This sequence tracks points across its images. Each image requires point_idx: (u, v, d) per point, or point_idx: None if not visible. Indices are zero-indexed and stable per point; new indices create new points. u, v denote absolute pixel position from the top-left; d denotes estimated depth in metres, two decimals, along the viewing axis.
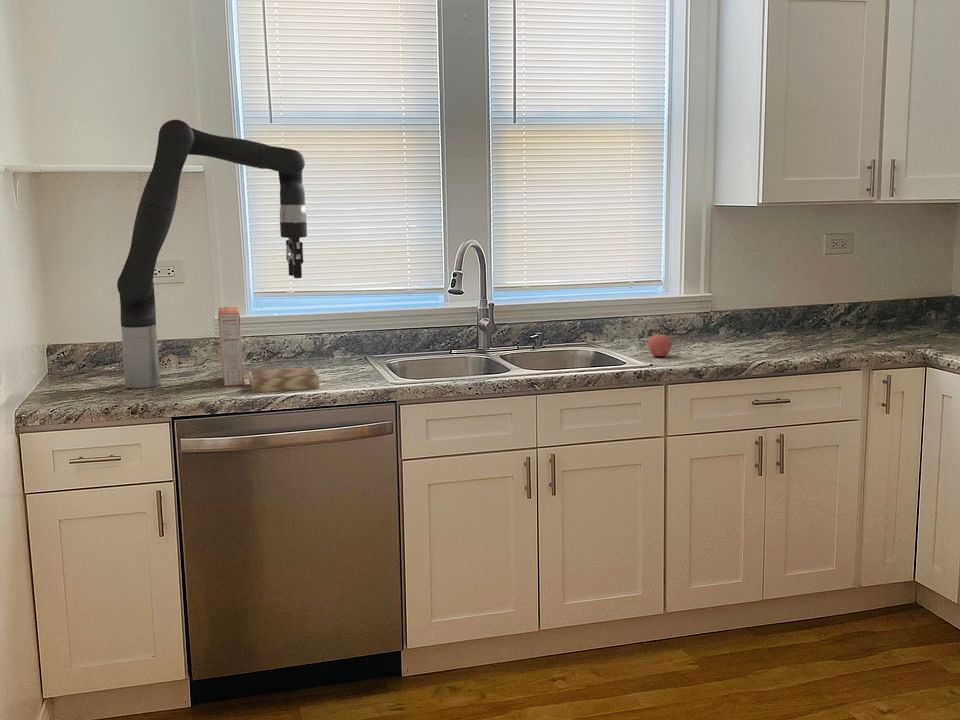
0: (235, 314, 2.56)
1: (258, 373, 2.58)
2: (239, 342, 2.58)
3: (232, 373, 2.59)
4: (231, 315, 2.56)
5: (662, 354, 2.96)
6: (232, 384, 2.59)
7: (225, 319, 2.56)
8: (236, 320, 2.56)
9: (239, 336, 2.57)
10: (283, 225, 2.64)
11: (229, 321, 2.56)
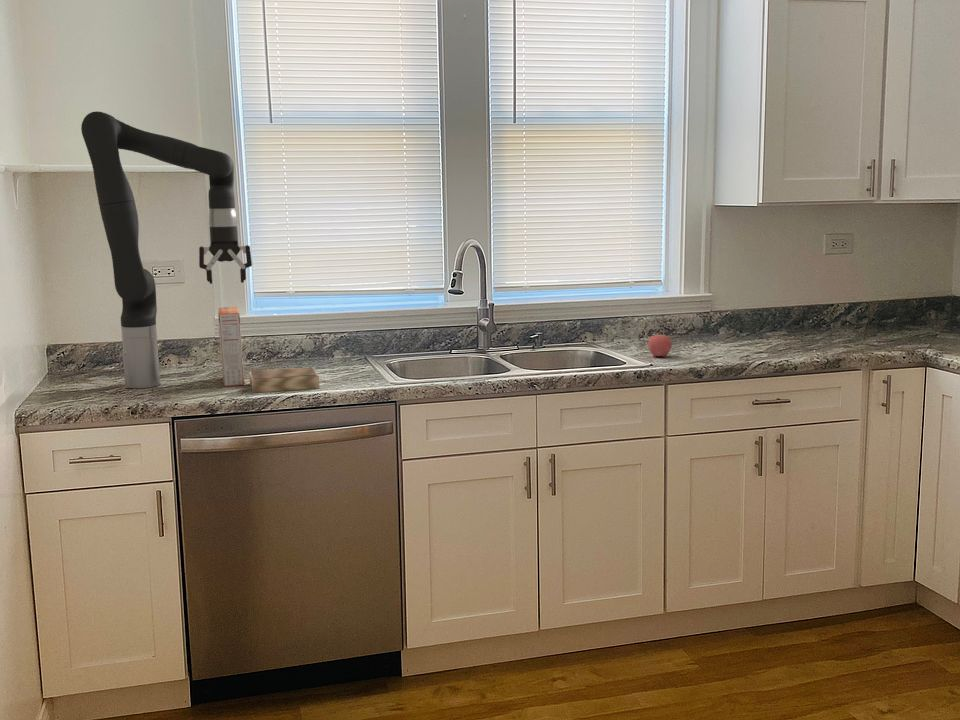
0: (235, 314, 2.56)
1: (258, 373, 2.58)
2: (239, 342, 2.58)
3: (232, 373, 2.59)
4: (231, 315, 2.56)
5: (662, 354, 2.96)
6: (232, 384, 2.59)
7: (225, 319, 2.56)
8: (236, 320, 2.56)
9: (239, 336, 2.57)
10: (231, 229, 2.56)
11: (229, 321, 2.56)
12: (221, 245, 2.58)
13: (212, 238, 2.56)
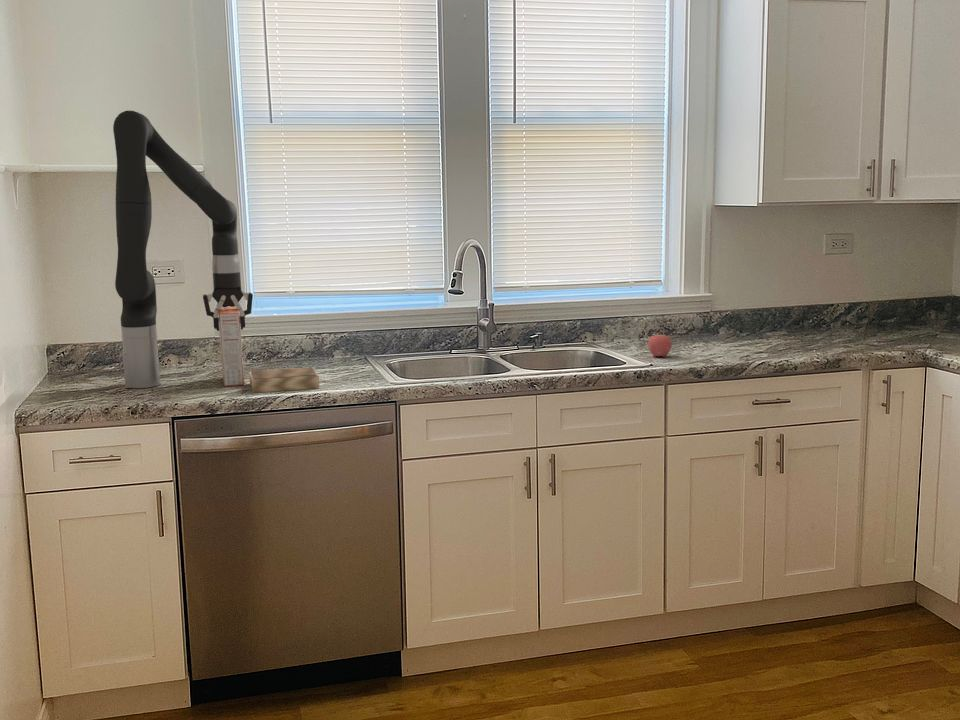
0: (235, 314, 2.56)
1: (258, 373, 2.58)
2: (239, 342, 2.58)
3: (232, 373, 2.59)
4: (231, 315, 2.56)
5: (662, 354, 2.96)
6: (232, 384, 2.59)
7: (225, 319, 2.56)
8: (237, 320, 2.56)
9: (239, 336, 2.57)
10: (234, 276, 2.58)
11: (229, 321, 2.56)
12: (224, 291, 2.60)
13: (215, 284, 2.58)
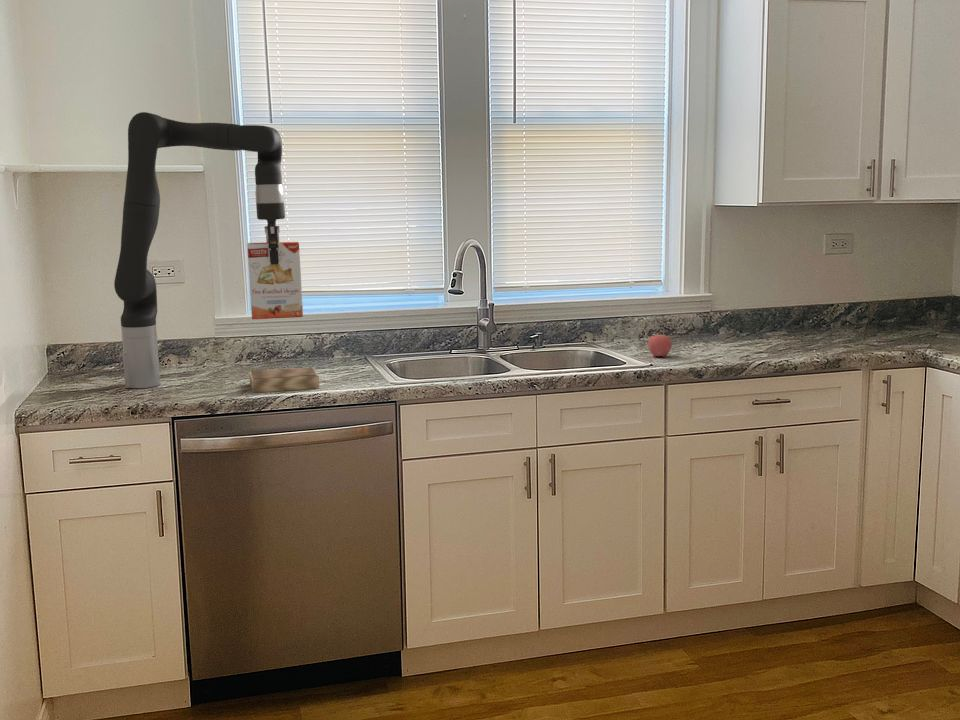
0: (298, 243, 2.56)
1: (258, 373, 2.58)
2: None
3: None
4: None
5: (662, 354, 2.96)
6: None
7: None
8: None
9: None
10: None
11: None
12: None
13: (278, 214, 2.49)
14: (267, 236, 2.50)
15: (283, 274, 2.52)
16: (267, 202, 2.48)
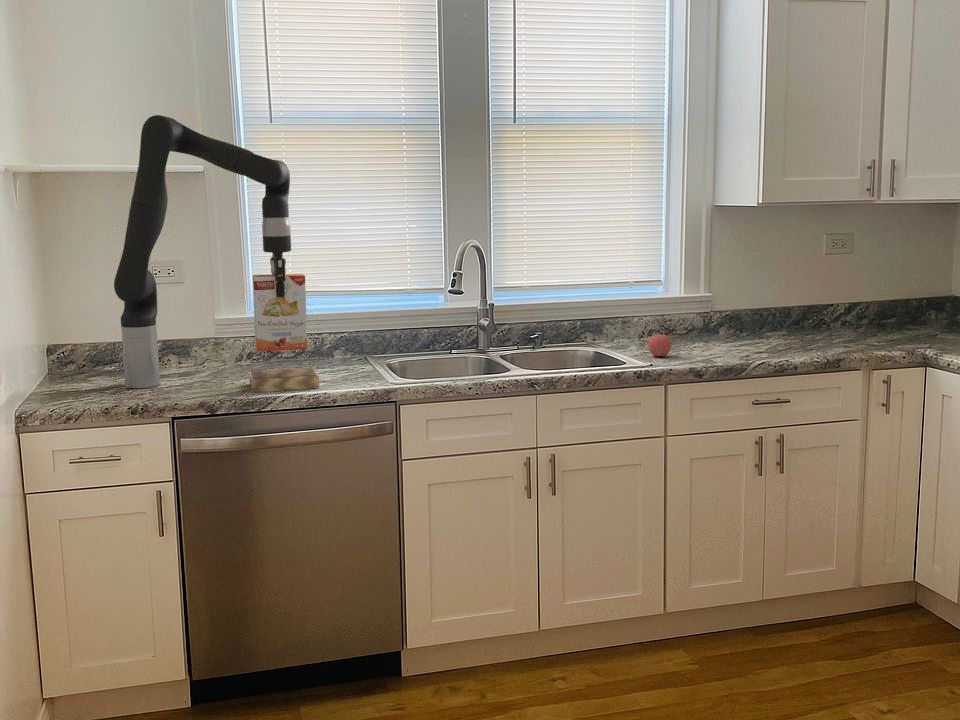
0: None
1: (258, 373, 2.58)
2: None
3: None
4: None
5: (662, 354, 2.96)
6: None
7: None
8: None
9: None
10: None
11: None
12: None
13: (285, 247, 2.50)
14: (273, 269, 2.50)
15: (289, 306, 2.53)
16: (274, 235, 2.48)
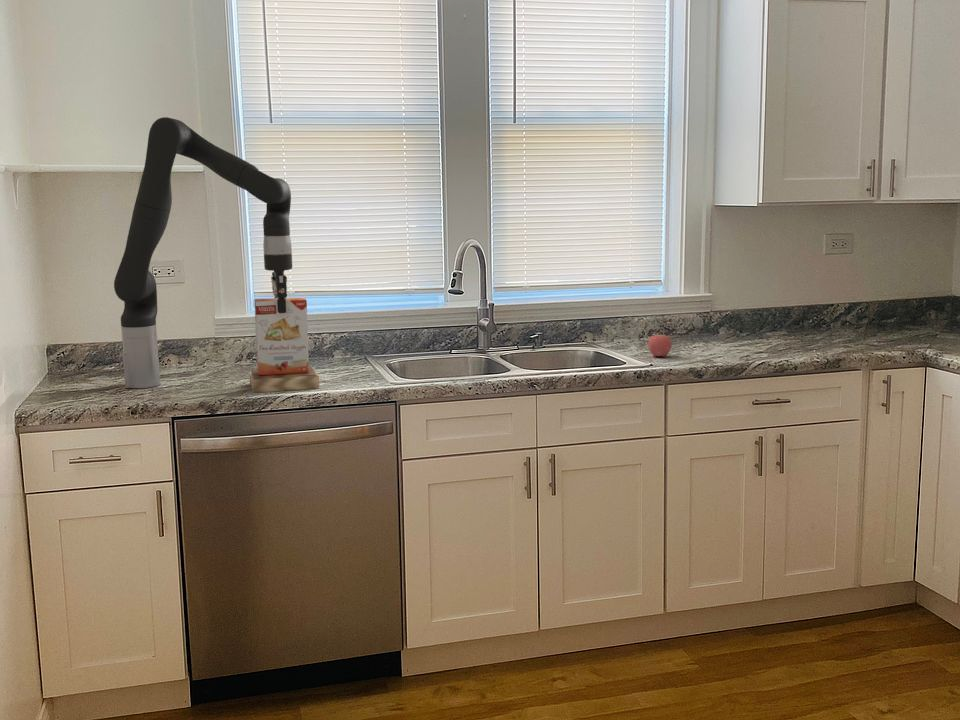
0: None
1: None
2: None
3: None
4: None
5: (662, 354, 2.96)
6: None
7: None
8: None
9: None
10: None
11: None
12: None
13: (286, 266, 2.51)
14: (275, 286, 2.51)
15: (290, 330, 2.54)
16: (276, 253, 2.49)
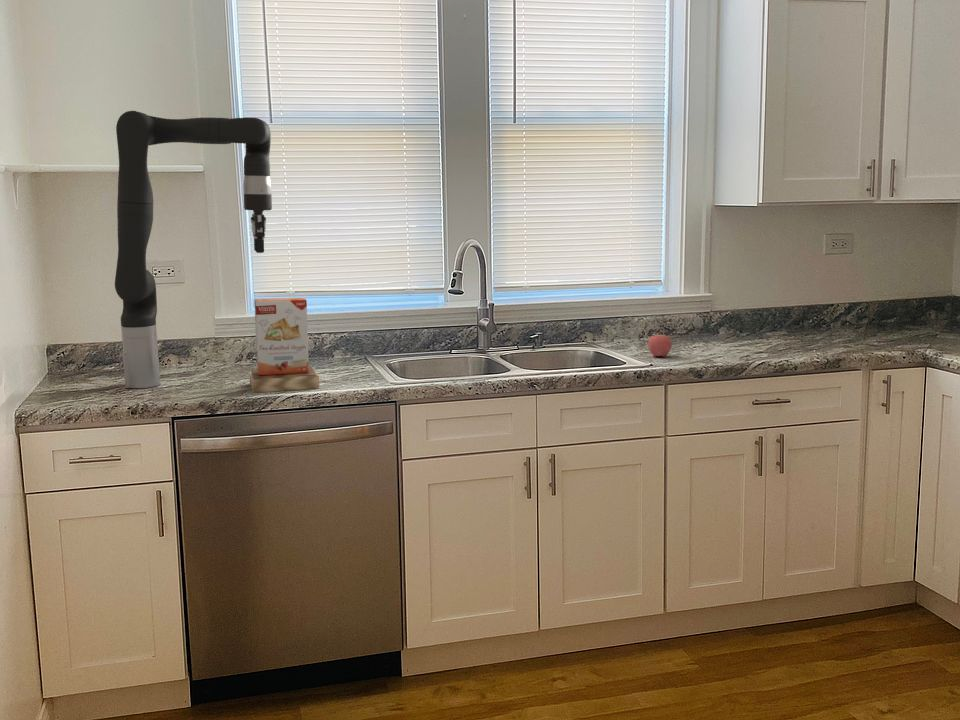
0: None
1: None
2: None
3: None
4: None
5: (662, 354, 2.96)
6: None
7: None
8: None
9: None
10: None
11: None
12: None
13: (265, 206, 2.53)
14: (253, 225, 2.53)
15: (290, 330, 2.54)
16: (255, 193, 2.51)
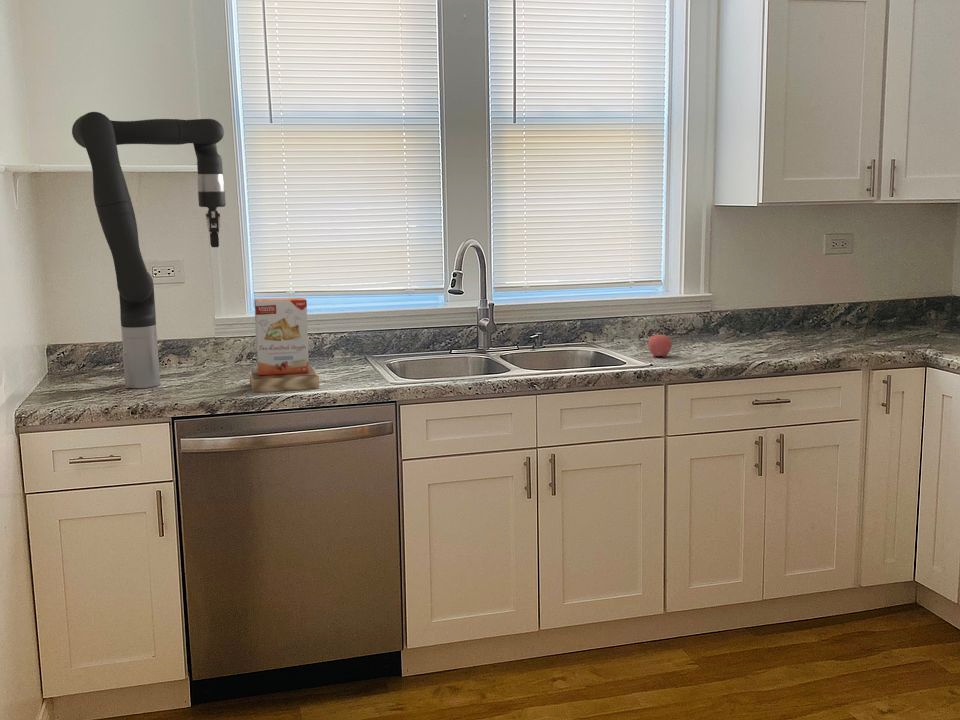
0: None
1: None
2: None
3: None
4: None
5: (662, 354, 2.96)
6: None
7: None
8: None
9: None
10: None
11: None
12: None
13: (219, 202, 2.66)
14: (208, 221, 2.66)
15: (290, 330, 2.54)
16: (208, 190, 2.64)
